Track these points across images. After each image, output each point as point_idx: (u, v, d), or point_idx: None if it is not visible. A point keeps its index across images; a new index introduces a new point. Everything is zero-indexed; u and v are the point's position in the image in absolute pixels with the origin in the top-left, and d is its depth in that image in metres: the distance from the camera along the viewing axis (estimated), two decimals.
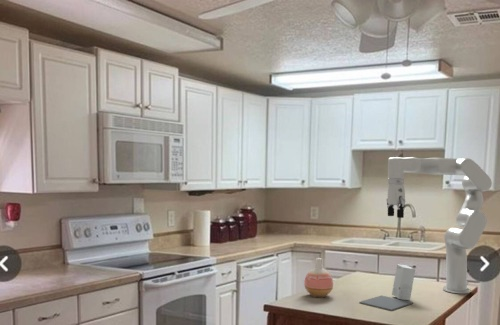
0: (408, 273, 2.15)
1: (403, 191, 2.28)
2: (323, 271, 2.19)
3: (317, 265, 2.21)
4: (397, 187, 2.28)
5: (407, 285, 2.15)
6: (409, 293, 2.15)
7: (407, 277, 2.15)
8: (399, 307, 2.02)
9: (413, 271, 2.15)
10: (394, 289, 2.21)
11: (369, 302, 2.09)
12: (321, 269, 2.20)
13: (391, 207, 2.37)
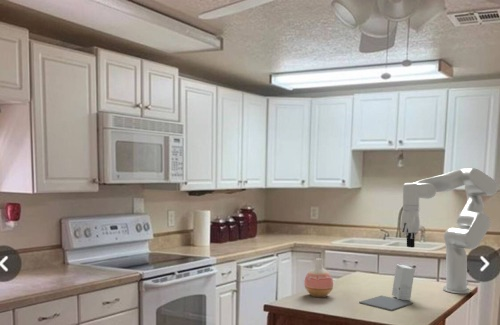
0: (407, 273, 2.15)
1: None
2: (323, 271, 2.19)
3: (317, 265, 2.21)
4: None
5: (407, 285, 2.15)
6: (409, 293, 2.15)
7: (407, 277, 2.15)
8: (399, 307, 2.02)
9: (413, 271, 2.15)
10: (394, 289, 2.21)
11: (369, 302, 2.09)
12: (321, 269, 2.20)
13: None
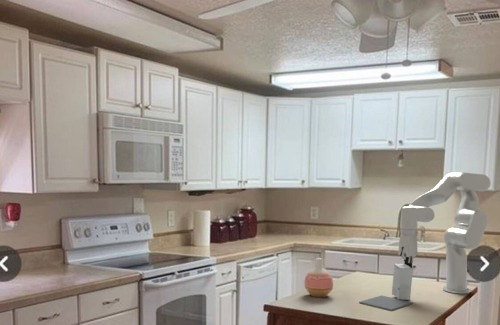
0: (405, 272, 2.14)
1: None
2: (323, 271, 2.19)
3: (317, 265, 2.21)
4: None
5: (406, 284, 2.15)
6: (408, 292, 2.15)
7: (405, 277, 2.14)
8: (399, 307, 2.02)
9: (411, 270, 2.14)
10: (393, 289, 2.20)
11: (369, 302, 2.09)
12: (321, 269, 2.20)
13: None
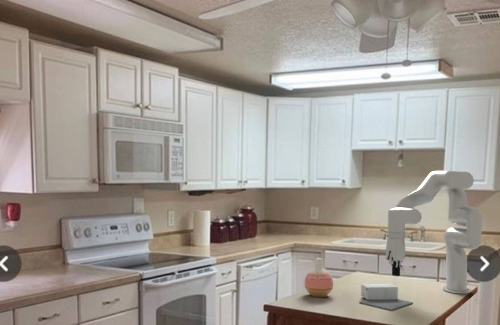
0: (372, 294, 2.13)
1: None
2: (323, 271, 2.19)
3: (317, 265, 2.21)
4: None
5: (383, 292, 2.14)
6: (391, 289, 2.14)
7: (376, 294, 2.13)
8: (399, 307, 2.02)
9: (369, 289, 2.13)
10: None
11: (369, 302, 2.09)
12: (321, 269, 2.20)
13: None
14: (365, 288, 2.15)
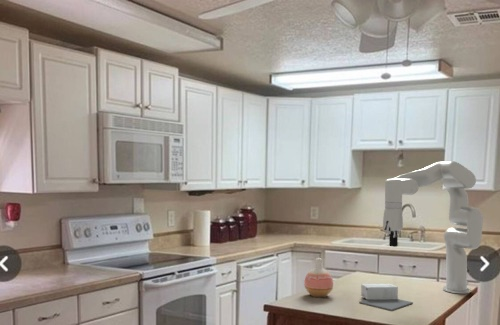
0: (372, 294, 2.13)
1: None
2: (323, 271, 2.19)
3: (317, 265, 2.21)
4: None
5: (383, 292, 2.14)
6: (391, 289, 2.14)
7: (376, 294, 2.13)
8: (399, 307, 2.02)
9: (369, 289, 2.13)
10: None
11: (369, 302, 2.09)
12: (321, 269, 2.20)
13: None
14: (365, 288, 2.15)
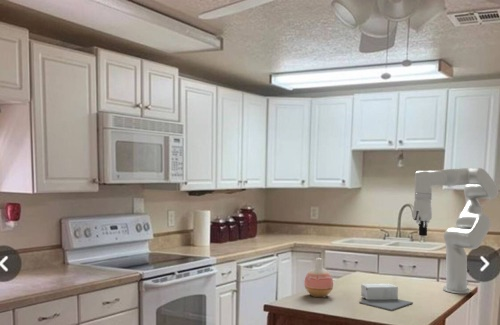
0: (372, 294, 2.13)
1: None
2: (323, 271, 2.19)
3: (317, 265, 2.21)
4: None
5: (383, 292, 2.14)
6: (391, 289, 2.14)
7: (376, 294, 2.13)
8: (399, 307, 2.02)
9: (369, 289, 2.13)
10: None
11: (369, 302, 2.09)
12: (321, 269, 2.20)
13: None
14: (365, 288, 2.15)
